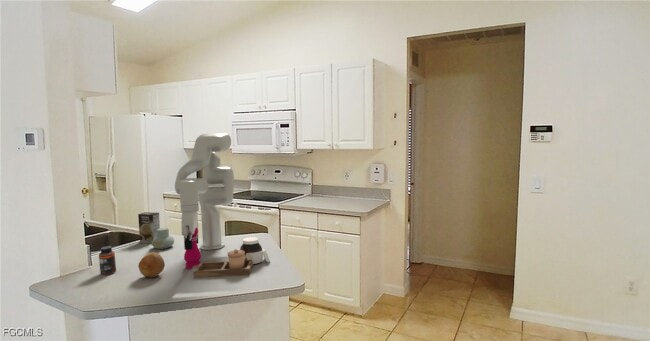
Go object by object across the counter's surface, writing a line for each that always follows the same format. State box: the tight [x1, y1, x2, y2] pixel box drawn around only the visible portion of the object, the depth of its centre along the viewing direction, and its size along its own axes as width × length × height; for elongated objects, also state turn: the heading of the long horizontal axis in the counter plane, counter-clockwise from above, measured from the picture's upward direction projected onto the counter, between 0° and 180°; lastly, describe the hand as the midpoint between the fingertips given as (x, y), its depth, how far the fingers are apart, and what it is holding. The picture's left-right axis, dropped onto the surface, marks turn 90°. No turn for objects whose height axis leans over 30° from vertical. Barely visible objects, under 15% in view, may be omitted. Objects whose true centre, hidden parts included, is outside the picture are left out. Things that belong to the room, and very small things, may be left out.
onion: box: [137, 251, 166, 278], centre depth 156 cm, size 10×10×10 cm
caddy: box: [193, 260, 254, 279], centre depth 156 cm, size 11×22×4 cm, turn 95°
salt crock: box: [227, 249, 245, 269], centre depth 156 cm, size 7×7×9 cm
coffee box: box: [137, 211, 161, 244], centre depth 210 cm, size 9×6×16 cm
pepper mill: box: [183, 227, 202, 270], centre depth 166 cm, size 7×7×20 cm
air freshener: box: [151, 227, 175, 250], centre depth 198 cm, size 11×8×10 cm
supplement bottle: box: [98, 245, 117, 276], centre depth 161 cm, size 6×6×11 cm
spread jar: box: [239, 236, 271, 266], centre depth 168 cm, size 12×11×12 cm
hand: (191, 246), depth 166 cm, fingers open, 9 cm apart
